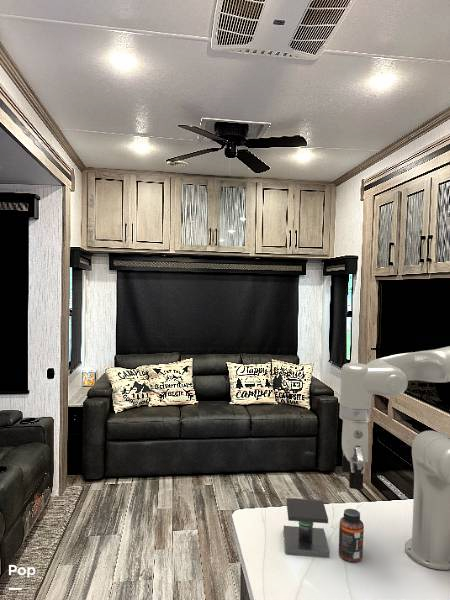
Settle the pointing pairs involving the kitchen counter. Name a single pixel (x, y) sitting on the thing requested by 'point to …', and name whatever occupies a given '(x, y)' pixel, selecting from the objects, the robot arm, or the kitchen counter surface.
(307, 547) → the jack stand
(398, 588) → the kitchen counter surface
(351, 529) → the supplement bottle
